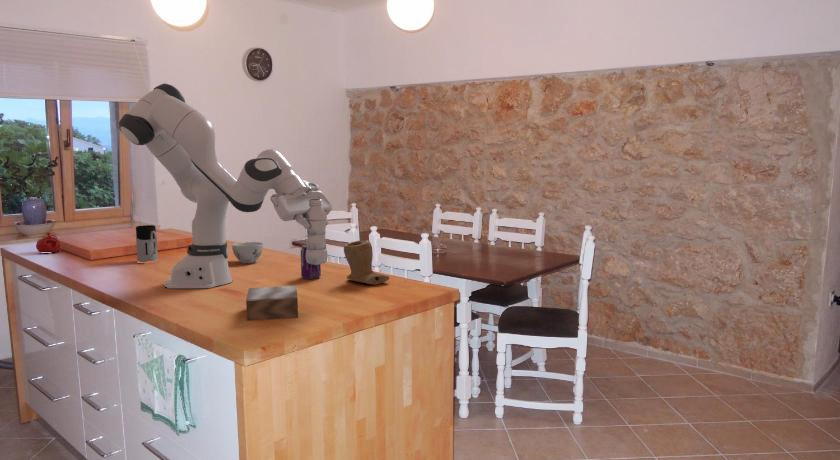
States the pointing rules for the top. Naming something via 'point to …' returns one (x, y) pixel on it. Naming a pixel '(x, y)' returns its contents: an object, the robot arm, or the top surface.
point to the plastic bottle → (316, 233)
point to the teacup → (247, 251)
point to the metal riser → (272, 303)
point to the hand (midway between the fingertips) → (317, 226)
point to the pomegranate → (48, 244)
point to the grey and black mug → (146, 243)
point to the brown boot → (362, 263)
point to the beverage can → (308, 266)
